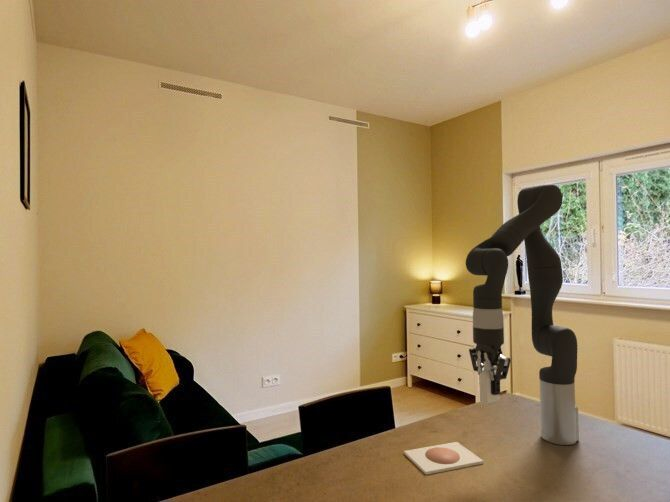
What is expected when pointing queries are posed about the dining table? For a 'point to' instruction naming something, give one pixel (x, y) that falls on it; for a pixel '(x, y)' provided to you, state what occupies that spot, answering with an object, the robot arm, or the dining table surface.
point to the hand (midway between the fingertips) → (489, 391)
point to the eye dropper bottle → (487, 388)
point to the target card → (442, 457)
